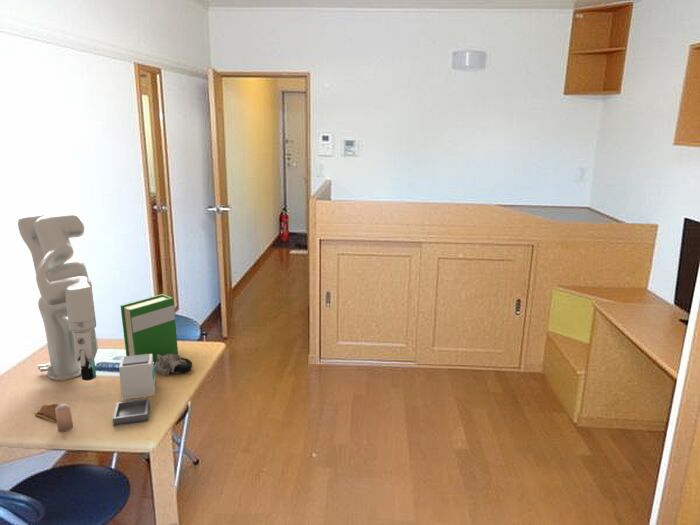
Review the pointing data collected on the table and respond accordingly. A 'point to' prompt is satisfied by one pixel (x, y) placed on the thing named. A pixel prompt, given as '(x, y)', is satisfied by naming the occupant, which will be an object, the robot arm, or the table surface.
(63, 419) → the terracotta cartridge
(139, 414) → the tray
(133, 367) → the unit
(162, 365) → the caster wheel
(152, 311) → the hardback book
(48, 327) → the robot arm
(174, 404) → the table surface
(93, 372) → the cylinder
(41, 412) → the shard
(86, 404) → the table surface
